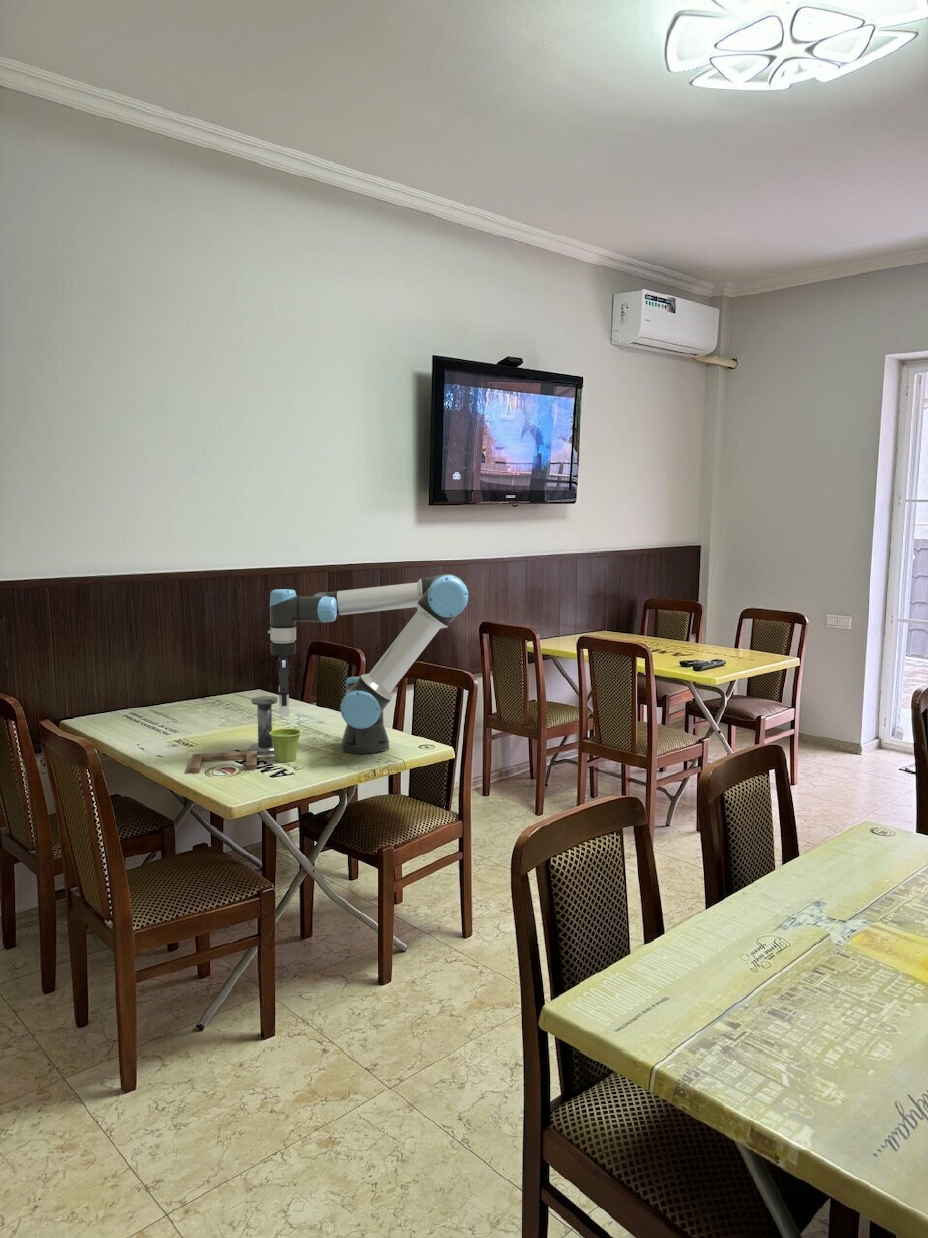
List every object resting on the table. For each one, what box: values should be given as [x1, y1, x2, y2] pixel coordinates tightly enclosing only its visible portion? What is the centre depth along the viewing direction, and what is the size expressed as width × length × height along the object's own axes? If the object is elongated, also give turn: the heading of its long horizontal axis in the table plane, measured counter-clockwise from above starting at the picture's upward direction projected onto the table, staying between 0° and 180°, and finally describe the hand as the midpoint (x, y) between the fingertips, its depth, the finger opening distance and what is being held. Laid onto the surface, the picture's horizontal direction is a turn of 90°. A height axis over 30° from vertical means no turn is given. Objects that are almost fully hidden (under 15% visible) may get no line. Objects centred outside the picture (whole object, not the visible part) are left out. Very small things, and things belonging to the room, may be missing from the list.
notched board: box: [187, 750, 258, 774], centre depth 263 cm, size 19×16×2 cm
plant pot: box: [269, 727, 302, 764], centre depth 268 cm, size 9×9×9 cm
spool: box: [248, 695, 279, 756], centre depth 278 cm, size 10×10×17 cm
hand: (283, 711), depth 267 cm, fingers open, 13 cm apart
